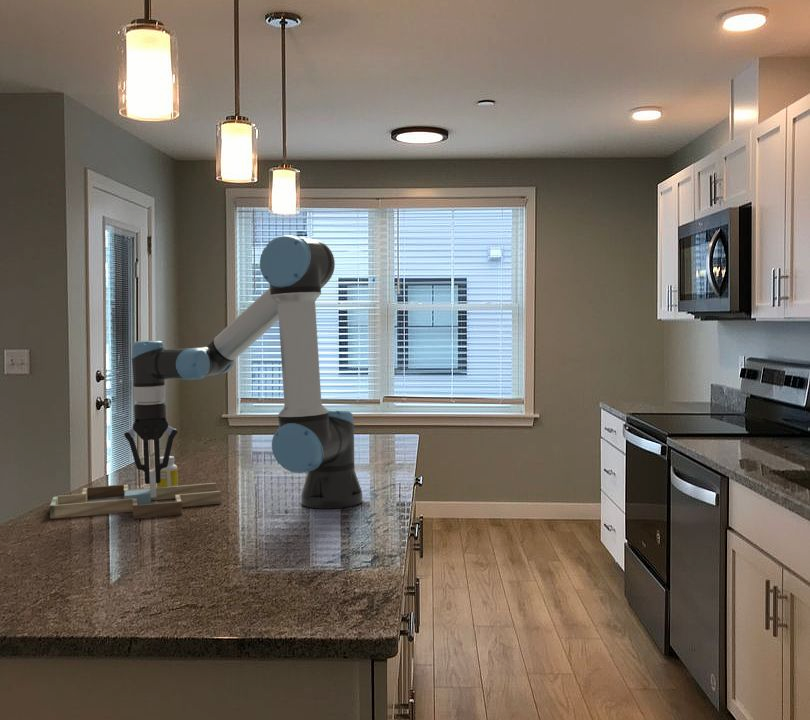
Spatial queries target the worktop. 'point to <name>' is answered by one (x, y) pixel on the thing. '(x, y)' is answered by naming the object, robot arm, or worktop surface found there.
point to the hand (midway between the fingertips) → (153, 496)
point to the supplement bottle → (168, 474)
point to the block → (139, 496)
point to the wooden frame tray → (133, 501)
